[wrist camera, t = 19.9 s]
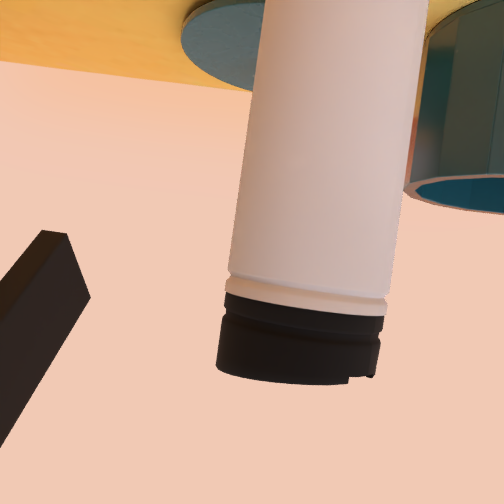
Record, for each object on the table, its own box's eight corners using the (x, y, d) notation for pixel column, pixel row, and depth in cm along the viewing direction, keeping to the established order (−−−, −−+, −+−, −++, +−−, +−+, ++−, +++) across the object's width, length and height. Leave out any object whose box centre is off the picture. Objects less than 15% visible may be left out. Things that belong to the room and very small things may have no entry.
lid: (210, 77, 41) (196, 174, 41) (151, -25, 27) (130, 124, 27) (378, 91, 39) (364, 193, 39) (412, -11, 25) (389, 151, 25)
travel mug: (244, -136, 18) (173, 368, 18) (407, -233, 14) (316, 427, 14) (327, -44, 23) (272, 357, 23) (468, -96, 19) (401, 398, 19)
